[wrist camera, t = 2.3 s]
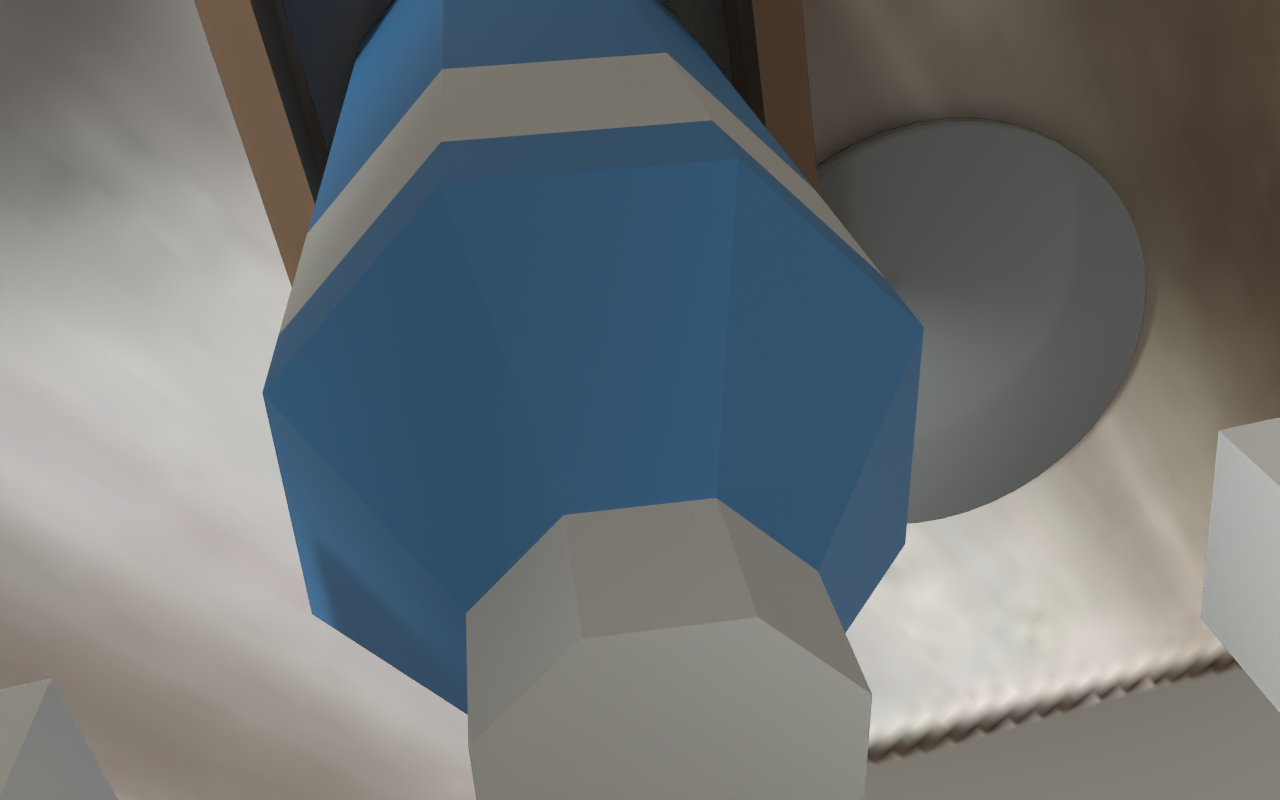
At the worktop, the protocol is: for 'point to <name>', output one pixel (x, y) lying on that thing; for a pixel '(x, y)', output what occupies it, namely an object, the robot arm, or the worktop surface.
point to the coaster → (995, 294)
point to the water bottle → (593, 408)
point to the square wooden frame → (293, 141)
